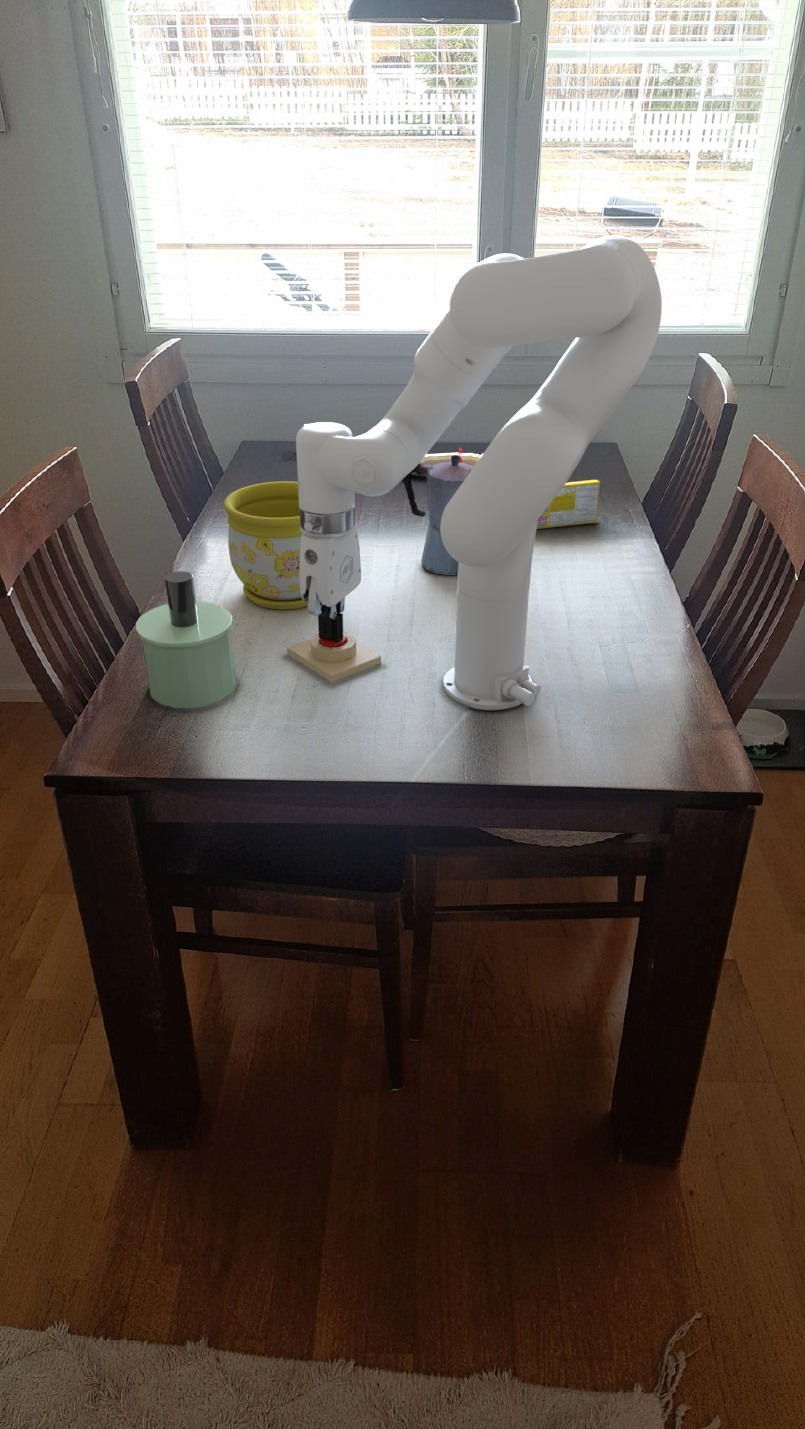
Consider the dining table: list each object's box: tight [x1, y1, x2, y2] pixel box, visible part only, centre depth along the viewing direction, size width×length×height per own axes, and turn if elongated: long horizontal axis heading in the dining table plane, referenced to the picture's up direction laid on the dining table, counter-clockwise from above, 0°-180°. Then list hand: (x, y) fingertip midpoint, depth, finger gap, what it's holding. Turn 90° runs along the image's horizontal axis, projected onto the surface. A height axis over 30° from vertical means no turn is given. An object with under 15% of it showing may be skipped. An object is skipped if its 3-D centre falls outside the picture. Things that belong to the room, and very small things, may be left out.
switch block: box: [286, 631, 382, 683], centre depth 147 cm, size 11×9×4 cm
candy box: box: [536, 479, 601, 530], centre depth 193 cm, size 16×2×8 cm, turn 105°
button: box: [321, 635, 346, 648], centre depth 146 cm, size 4×4×2 cm
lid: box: [135, 570, 234, 647], centre depth 134 cm, size 13×13×8 cm
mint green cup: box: [140, 628, 237, 709], centre depth 138 cm, size 12×12×10 cm
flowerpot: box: [223, 480, 308, 611], centre depth 164 cm, size 18×18×16 cm
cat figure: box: [411, 447, 484, 475], centre depth 218 cm, size 10×9×25 cm
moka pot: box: [402, 455, 474, 576], centre depth 173 cm, size 10×15×20 cm, turn 78°
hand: (331, 638), depth 146 cm, fingers closed
